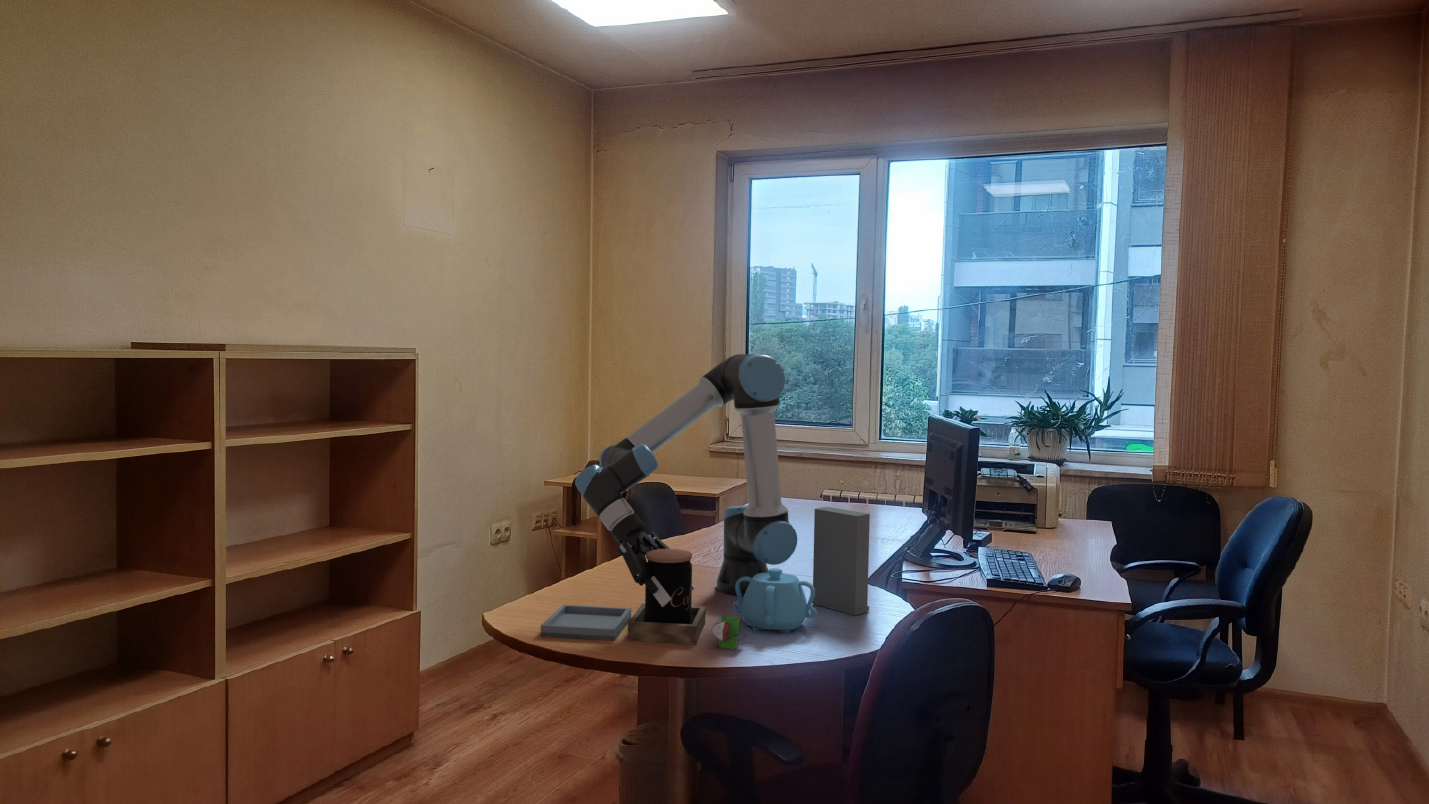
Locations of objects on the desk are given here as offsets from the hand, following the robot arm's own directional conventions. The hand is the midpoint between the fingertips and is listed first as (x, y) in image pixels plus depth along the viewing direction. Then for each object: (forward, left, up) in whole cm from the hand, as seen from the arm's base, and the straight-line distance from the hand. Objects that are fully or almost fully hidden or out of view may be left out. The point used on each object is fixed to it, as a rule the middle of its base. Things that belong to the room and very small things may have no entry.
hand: (679, 597), depth 197 cm
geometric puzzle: (-12, +7, -9) cm, 17 cm away
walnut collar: (+3, -1, -8) cm, 9 cm away
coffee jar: (+3, -1, -8) cm, 9 cm away
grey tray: (+22, -1, -8) cm, 23 cm away
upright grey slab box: (-37, -28, -9) cm, 47 cm away
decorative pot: (-21, -10, -9) cm, 25 cm away
